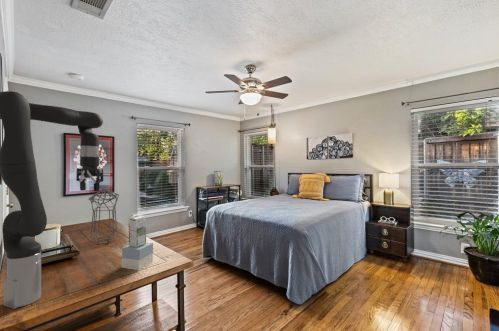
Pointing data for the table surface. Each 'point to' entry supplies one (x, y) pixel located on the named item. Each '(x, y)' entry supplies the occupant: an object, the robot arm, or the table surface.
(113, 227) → the geometric lantern
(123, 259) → the tower base block
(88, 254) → the table surface
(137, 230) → the syrup box
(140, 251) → the tower top block
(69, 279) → the table surface
